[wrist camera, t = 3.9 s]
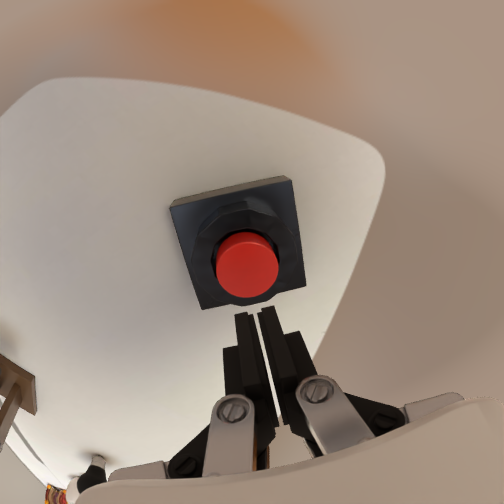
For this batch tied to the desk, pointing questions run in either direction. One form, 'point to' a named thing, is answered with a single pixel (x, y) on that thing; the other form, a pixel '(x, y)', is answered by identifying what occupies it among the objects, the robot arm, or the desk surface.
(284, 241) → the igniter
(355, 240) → the desk surface
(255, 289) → the button
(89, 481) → the light bulb
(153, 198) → the desk surface
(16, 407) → the bracket
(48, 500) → the book monster
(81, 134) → the desk surface
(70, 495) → the mug
